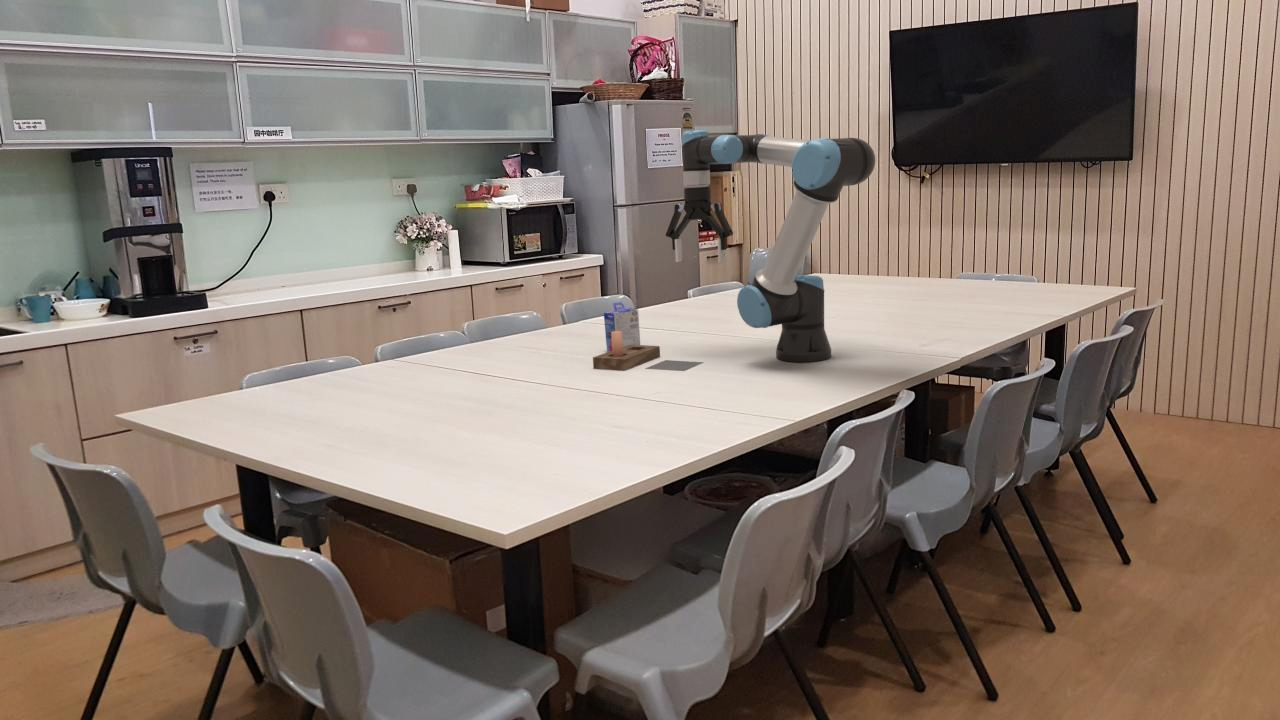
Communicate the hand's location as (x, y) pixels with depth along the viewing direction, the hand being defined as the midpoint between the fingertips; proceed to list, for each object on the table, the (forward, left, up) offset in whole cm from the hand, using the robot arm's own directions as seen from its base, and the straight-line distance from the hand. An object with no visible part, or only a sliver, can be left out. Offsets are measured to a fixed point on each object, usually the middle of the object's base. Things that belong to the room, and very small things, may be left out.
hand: (700, 261), depth 285 cm
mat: (-1, +20, -27) cm, 33 cm away
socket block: (+14, +20, -27) cm, 36 cm away
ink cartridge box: (+26, +2, -27) cm, 38 cm away
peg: (+14, +25, -27) cm, 39 cm away
